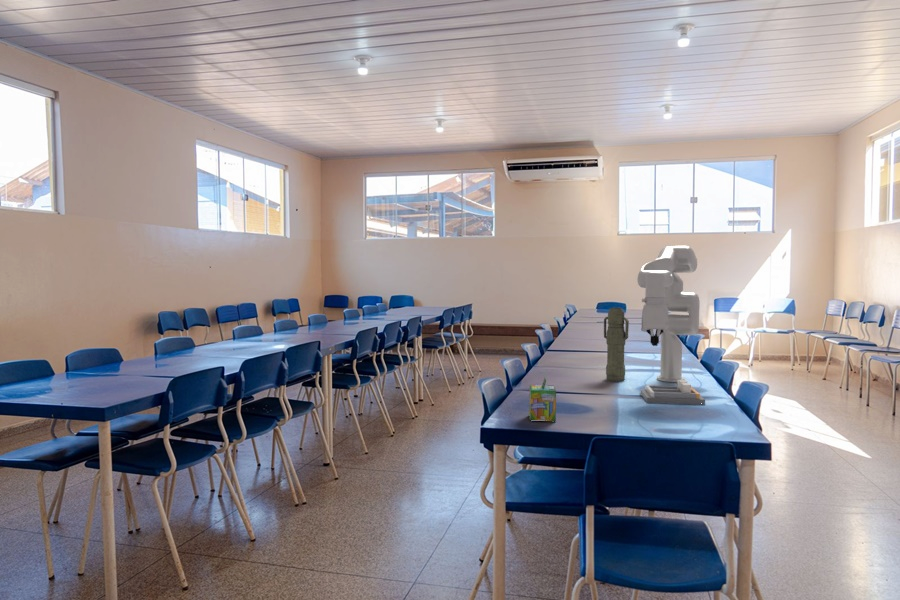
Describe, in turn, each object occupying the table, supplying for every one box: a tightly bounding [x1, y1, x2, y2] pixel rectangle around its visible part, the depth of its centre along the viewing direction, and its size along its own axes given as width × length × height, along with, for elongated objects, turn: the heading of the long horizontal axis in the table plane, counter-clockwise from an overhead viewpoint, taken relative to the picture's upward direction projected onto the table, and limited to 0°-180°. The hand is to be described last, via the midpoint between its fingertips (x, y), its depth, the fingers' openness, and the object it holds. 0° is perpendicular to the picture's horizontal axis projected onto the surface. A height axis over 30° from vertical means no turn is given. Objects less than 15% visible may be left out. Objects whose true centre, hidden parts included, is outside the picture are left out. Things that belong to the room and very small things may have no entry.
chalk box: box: [528, 377, 557, 422], centre depth 201 cm, size 9×9×15 cm
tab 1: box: [676, 379, 689, 389], centre depth 232 cm, size 3×4×5 cm
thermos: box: [603, 306, 630, 382], centre depth 270 cm, size 9×12×35 cm
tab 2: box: [681, 382, 692, 393], centre depth 227 cm, size 3×4×5 cm
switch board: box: [640, 384, 706, 405], centre depth 230 cm, size 22×16×4 cm
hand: (654, 345), depth 233 cm, fingers closed
